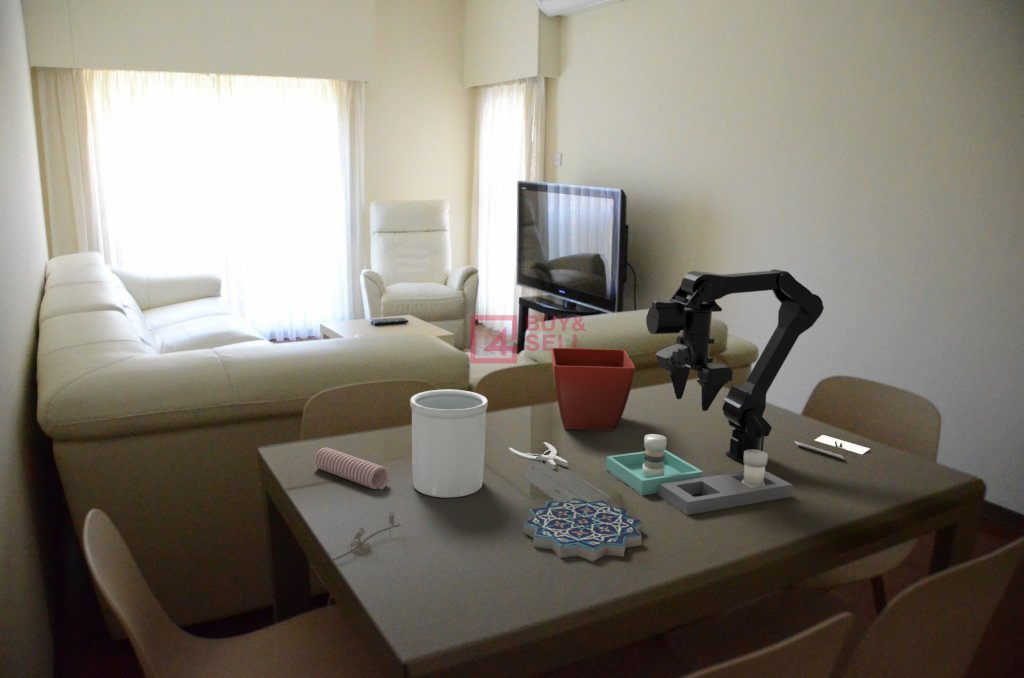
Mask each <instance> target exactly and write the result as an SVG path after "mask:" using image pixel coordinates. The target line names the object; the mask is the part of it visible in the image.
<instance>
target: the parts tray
mask: <svg viewBox="0 0 1024 678" xmlns="http://www.w3.org/2000/svg"><path fill="white" fill-rule="evenodd" d="M644 457H645V450H644V451H639V452H637V451H636V452H630V453H629V452H628V453H623V454H615V455H608V456H606V457H605V458H606V462H605V471H606V470H607V472H608V471H609V472H610V473H612V474H613V475H615V476H616V477H617V478H616V477H615V476H614V477H615V478H616V479H618V478H619V479H620V480H622V481H623V482H625V483H626V484H627V485H629V486H630V487H631V488H630V487H629V486H628V487H629V488H630V489H632V488H633V489H634V490H633V489H632V490H633V491H635V492H636V491H637V492H638V493H637V492H636V493H637V494H639V495H640V494H641V495H640V496H646V495H652V494H653V495H654V494H659V493H660V484H664V483H670V482H677V481H683V480H690V479H696V478H703V477H704V471H703V470H701V469H699V468H698V467H696V466H694V465H693V464H691V463H689V462H687V461H685V460H684V459H682V458H681V457H679V456H677V455H675V454H674V453H672V452H670V451H668V450H666V449H665V450H664V462H663V465H664V466H665V469H664V476H659V477H653V478H646V477H644V476H643V475H642V468H643V464H644V461H645V459H644ZM609 472H608V473H609ZM610 473H609V474H610ZM612 474H611V475H612ZM613 475H612V476H613ZM619 479H618V480H619ZM620 480H619V481H620ZM622 481H621V482H622ZM623 482H622V483H623ZM625 483H624V484H625ZM626 484H625V485H626ZM627 485H626V486H627Z"/></svg>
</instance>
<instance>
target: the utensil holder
mask: <svg viewBox="0 0 1024 678" xmlns="http://www.w3.org/2000/svg"><path fill="white" fill-rule="evenodd" d="M409 402H410V403H409V404H410V408H411V447H412V449H411V454H412V455H411V458H412V459H411V460H412V461H411V462H412V484H413V488H414V489H415V490H416V491H418V492H419V493H421V494H423V495H426V496H430V497H435V498H445V499H446V498H460V497H464V496H465V497H466V496H468V495H472V494H474V493H476V492H478V491H479V490H480V489H481V488H482V486H483V480H484V469H485V467H484V464H485V447H486V446H485V441H486V423H487V409H488V406H489V404H488V403H489V402H488V398H486V396H484V395H483V394H479V393H477V392H473V391H468V390H462V389H452V388H451V389H449V388H447V389H435V390H434V389H433V390H427V391H423V392H422V391H421V392H418V393H416V394H414V395H413V396H411V398H410V400H409Z"/></svg>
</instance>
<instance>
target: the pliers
mask: <svg viewBox="0 0 1024 678" xmlns="http://www.w3.org/2000/svg"><path fill="white" fill-rule="evenodd" d="M544 444H545V447H547V448H548V449H547V450H545V451H544V453H542V454H541V455H540V457H538V456H534V455H539V454H538V453H530V452H528V453H525V452H520V451H519V450H516V449H514V448H512V447H508V451H510V452H511V453H512V454H513V455H516V456H518V457H520V458H524V459H526V460H531V459H536V457H538V458H540V459H544V461H545V460H547V462H549V463H550V464H552V465H556V466H557V464H556V463H555V462H558V463H561V464H563V465H568V464H569V463H568V461H567V460H566V459H564V458H563V457H561V456H558V451H557V449H556V448H555V446H553V445H552V444H550V443H549V442H547V441H543V445H544ZM548 451H551V452H548ZM546 452H548V453H549V454H547V453H546ZM545 453H546V455H544V454H545ZM556 454H557V455H556ZM554 461H555V462H554Z"/></svg>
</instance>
